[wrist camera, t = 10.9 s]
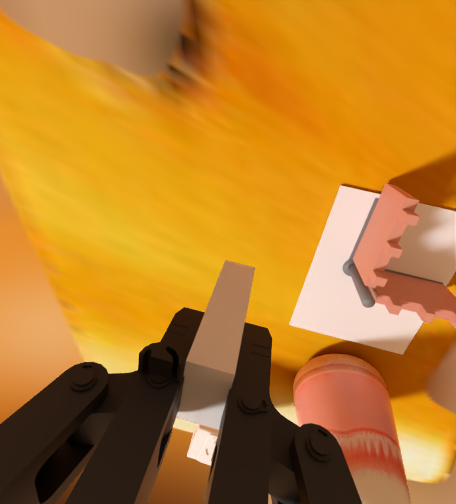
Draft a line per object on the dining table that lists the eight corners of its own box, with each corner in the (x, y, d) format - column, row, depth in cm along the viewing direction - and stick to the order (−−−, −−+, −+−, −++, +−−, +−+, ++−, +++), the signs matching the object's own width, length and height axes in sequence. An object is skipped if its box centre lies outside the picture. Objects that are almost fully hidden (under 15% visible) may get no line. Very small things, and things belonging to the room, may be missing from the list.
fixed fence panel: (384, 182, 36) (412, 202, 28) (396, 185, 35) (427, 205, 28) (346, 270, 41) (360, 306, 34) (356, 273, 41) (372, 310, 34)
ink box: (242, 411, 59) (233, 476, 48) (202, 397, 59) (184, 458, 48) (256, 384, 55) (249, 448, 44) (213, 369, 55) (197, 429, 44)
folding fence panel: (360, 273, 41) (378, 310, 33) (364, 266, 41) (382, 302, 33) (439, 291, 40) (475, 333, 33) (443, 284, 40) (481, 325, 32)
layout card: (340, 184, 37) (341, 185, 37) (487, 218, 36) (489, 219, 35) (289, 323, 47) (289, 325, 47) (401, 352, 46) (402, 355, 46)
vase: (400, 370, 48) (544, 690, 21) (345, 416, 54) (402, 703, 28) (324, 330, 47) (375, 610, 20) (277, 381, 53) (270, 644, 27)
